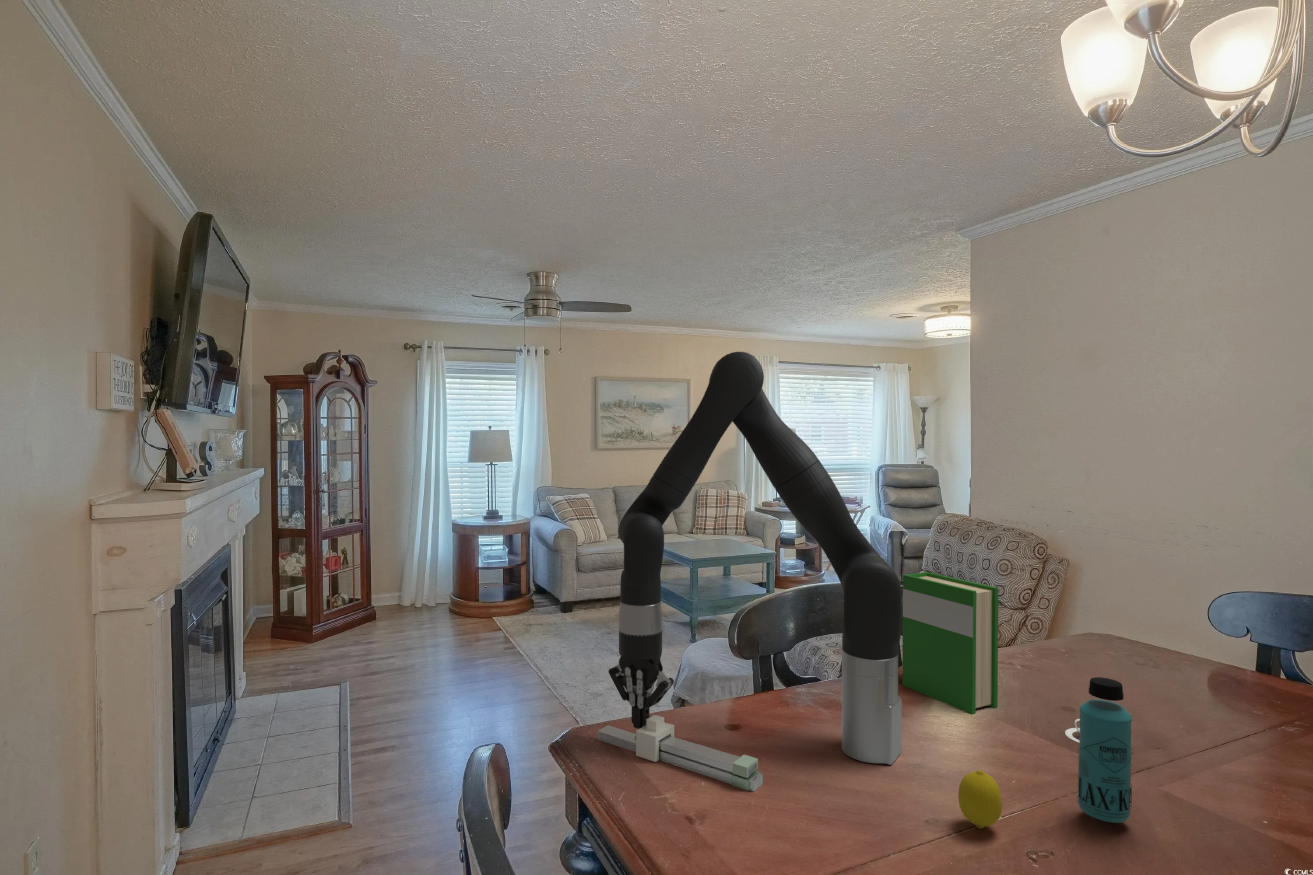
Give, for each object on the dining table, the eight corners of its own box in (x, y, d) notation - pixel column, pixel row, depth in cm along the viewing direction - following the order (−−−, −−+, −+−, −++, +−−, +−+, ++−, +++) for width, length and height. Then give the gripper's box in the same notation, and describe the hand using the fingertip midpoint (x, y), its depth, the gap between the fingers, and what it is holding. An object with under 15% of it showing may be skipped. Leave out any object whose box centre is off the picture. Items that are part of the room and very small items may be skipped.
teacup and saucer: (1118, 736, 127) (1118, 714, 127) (1126, 754, 120) (1126, 730, 120) (1062, 727, 131) (1063, 705, 131) (1067, 744, 124) (1067, 721, 124)
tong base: (596, 739, 124) (596, 722, 124) (609, 732, 127) (609, 715, 127) (752, 792, 106) (753, 771, 106) (763, 782, 109) (763, 762, 109)
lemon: (1007, 841, 93) (1007, 782, 93) (963, 836, 94) (963, 777, 94) (995, 819, 99) (996, 763, 99) (954, 814, 100) (954, 759, 100)
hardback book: (997, 707, 139) (998, 587, 139) (972, 714, 136) (973, 591, 136) (926, 679, 155) (927, 571, 155) (902, 685, 151) (903, 574, 151)
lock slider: (636, 755, 117) (636, 721, 117) (655, 743, 122) (655, 710, 122) (655, 761, 115) (655, 726, 115) (674, 749, 120) (674, 715, 120)
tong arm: (641, 744, 118) (641, 734, 118) (654, 736, 121) (654, 727, 121) (747, 777, 106) (747, 767, 106) (757, 768, 109) (757, 758, 109)
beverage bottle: (1066, 809, 101) (1067, 672, 101) (1109, 807, 102) (1110, 671, 102) (1098, 835, 95) (1099, 689, 95) (1144, 833, 95) (1145, 687, 95)
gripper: (684, 628, 120) (684, 729, 120) (623, 616, 127) (623, 711, 127) (659, 638, 113) (659, 745, 114) (597, 625, 121) (597, 725, 121)
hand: (640, 726), depth 120 cm, fingers closed
